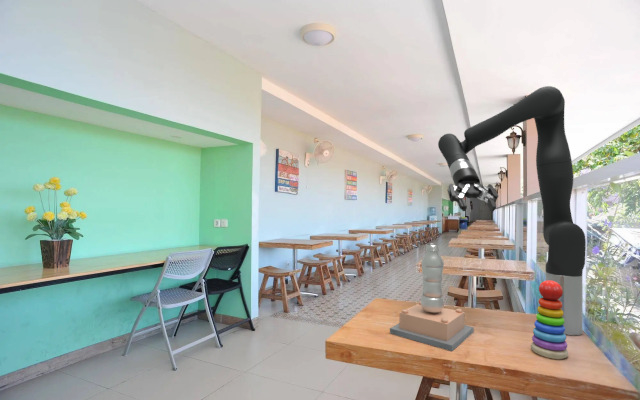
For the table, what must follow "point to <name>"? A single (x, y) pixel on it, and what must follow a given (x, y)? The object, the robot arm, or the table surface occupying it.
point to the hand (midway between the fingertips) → (479, 209)
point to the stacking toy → (550, 323)
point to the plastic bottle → (432, 280)
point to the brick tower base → (434, 340)
